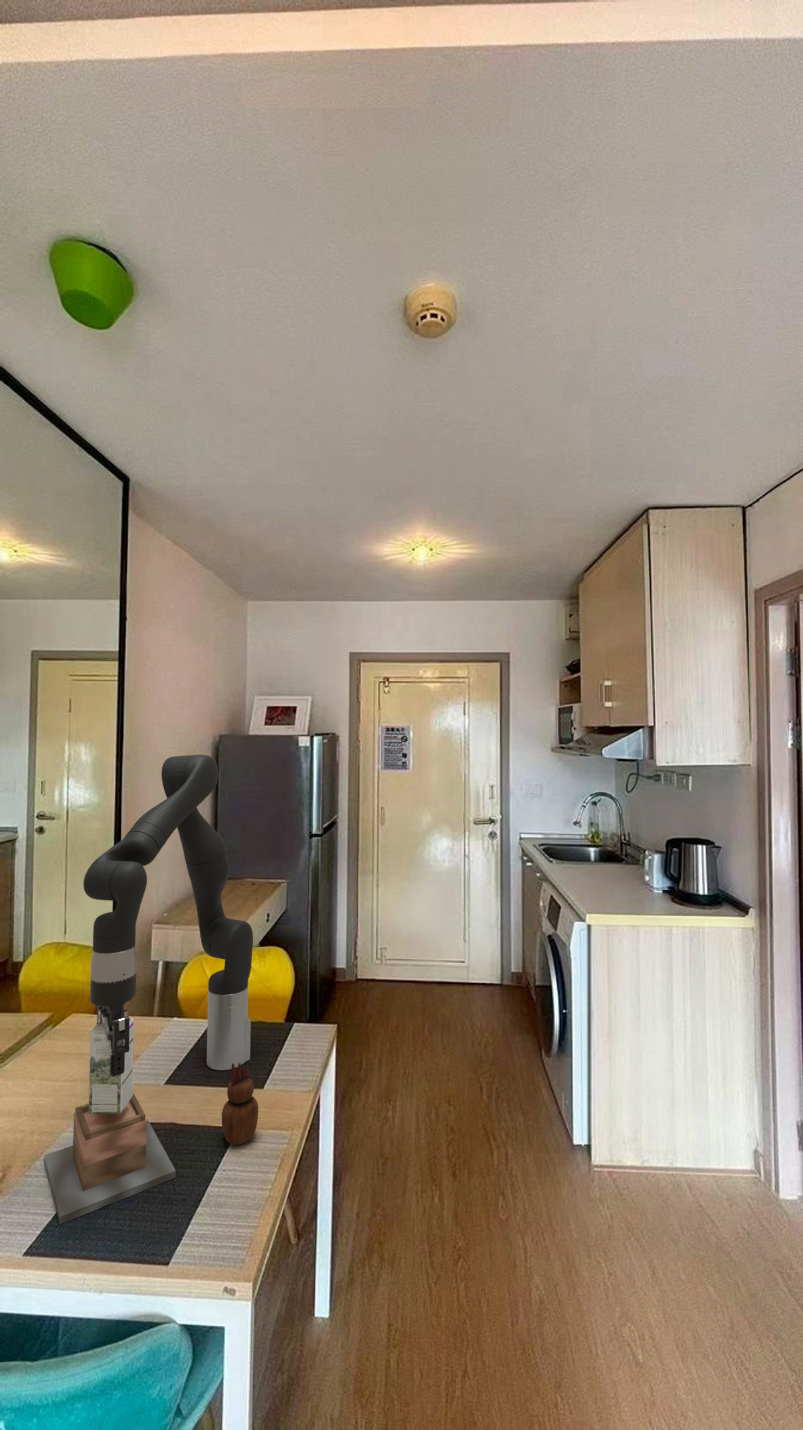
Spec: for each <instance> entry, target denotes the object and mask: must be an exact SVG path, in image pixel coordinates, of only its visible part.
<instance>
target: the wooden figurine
mask: <svg viewBox="0 0 803 1430" xmlns="http://www.w3.org/2000/svg"><path fill="white" fill-rule="evenodd" d="M245 1067H246V1066H245V1065H244V1066H242V1065H241V1064H240V1063H239V1064H238V1067H237V1069H236V1068H235V1066H234V1064H233V1063H232V1069H231V1077H230V1082H229V1083H228V1085H227V1090H226V1095H227V1099H228V1100H227V1101H226V1102H225V1104H223V1107H222V1111H221V1125H222V1132H223V1135H224V1138H225V1140H226V1142H227V1143H228V1144H229V1145H234V1146H239V1145H243V1144H246V1143H247V1142H249V1141H250V1140H251V1139H252V1138H253V1137H254V1134H255V1133H256V1129H257V1126H258V1119H259V1104H258V1101H257V1099H256V1098H255V1096H254V1095H253V1094H254V1090H255V1085H254V1081H253V1080H252V1079H251V1078H250V1072H249V1069H248V1068H246V1069H245ZM236 1070H237V1071H236Z"/></svg>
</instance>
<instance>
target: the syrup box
mask: <svg viewBox="0 0 803 1430" xmlns="http://www.w3.org/2000/svg"><path fill="white" fill-rule="evenodd" d="M129 1018H130V1021H129V1048H130V1049H129V1052H126V1053H125V1067H124V1073H123V1074H120V1075H117V1076H111V1074H110V1046H109V1042H106V1039H105V1029H104V1026H103V1024H102V1022H99V1023H98V1024H97V1023H96V1025H94V1027H93V1028H92V1029H91V1031H89V1032H90V1034H89V1074H88V1075H89V1078H88V1080H89V1083H88V1084H89V1087H88V1090H89V1091H88V1104H89V1114H113V1113H121V1112H122V1111H123V1109H124V1108H125V1106H126V1105H127V1104H128V1102H129V1101H130V1099H131V1098H132V1096H133V1093H134V1080H133V1079H134V1043H135V1042H134V1041H135V1038H134V1036H135V1019H134V1017H129ZM109 1032H110V1034H111V1035H113V1031H109ZM120 1045H122V1040H120V1041H118V1042H117V1046H120Z"/></svg>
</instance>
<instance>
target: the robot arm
mask: <svg viewBox="0 0 803 1430" xmlns="http://www.w3.org/2000/svg"><path fill="white" fill-rule="evenodd" d="M160 772H161V773H160V774H161V782H162V787H163V790H164V795H165V797H166V799H165V800H162V801H161V802H160V803H158V804H156V805H155V806H153V807H152V808H151V809H149V810H147V811H146V812H145V813H143V814H142V815H141V816H140V817H139V818H138V819H137V820H136V821H135V823H134V824H133V825H132V827H131V828H130V829H129V831H128V832H127V833H126V834H125V836H124V837H123V838H122V839H121V840H120V841H118V842H117V843H115V844H114V845H112V846H111V847H110V848H108V850H106V851H105V852H103V854H101V855H99V857H97V858H96V859H95V860H94V861H93V862H92V863H91V864H90V866H89V867H88V869H87V870H86V872H85V874H84V877H83V884H82V885H83V890H84V893H85V894H86V895H87V896H88V898H91V899H92V900H96V901H97V900H98V901H110V902H116V908H115V910H114V911H107V912H105V913H104V912H103V914H100V915H98V916H97V917H96V918H95V920H94V922H93V929H92V931H93V932H92V953H91V961H90V980H89V981H90V983H89V986H90V988H89V990H90V991H89V992H90V993H89V1001H90V1003H91V1004H92V1005H93V1006H96V1007H97V1013H96V1015H97V1016H96V1025H97V1024H98V1023H99V1022H102V1024H103V1026H104V1029H105V1039H106V1042H109V1046H110V1074H111V1076H117V1075H120V1074H123V1073H124V1067H125V1053H126V1052H129V1049H130V1048H129V1021H130V1018H131V1017H130V1016H129V1015H128V1011H127V1009H125V1008H124V1006H125V1004H126V1003H128V1002H129V1001H131V1000H132V999H134V998H135V996H136V993H137V961H138V960H137V958H138V957H137V950H136V932H137V931H136V930H137V927H136V926H137V920H138V916H139V913H140V909H141V904H142V901H143V898H144V896H145V893H146V889H147V885H148V875H147V872H146V869H145V868H144V866H145V867H146V866H148V865H149V864H151V863H152V862H153V861H154V860H155V859H156V857H157V856H158V855H159V853H160V851H161V850H162V848H163V847H164V846H165V845H166V843H167V841H168V840H169V839H170V837H171V836H172V834H173V833H174V831H176V830H177V832H178V836H179V839H180V842H181V843H180V844H181V847H182V851H183V857H184V860H185V865H186V869H187V874H188V876H189V879H190V880H189V881H190V885H191V888H192V892H193V897H194V902H195V906H196V907H195V908H196V911H197V912H196V913H197V921H198V929H199V936H200V942H201V947H202V949H203V951H204V953H205V954H206V955H207V956H209V957H211V958H215V959H219V960H220V959H221V960H224V966H223V967H224V968H223V969H221V970H218V971H216V972H213V973H212V974H211V975H210V976H209V978H208V980H207V981H208V983H207V985H208V987H207V1026H206V1027H207V1034H206V1037H207V1039H206V1065H207V1067H208V1068H209V1069H213V1070H215V1071H228V1070H232V1063H233V1064H234V1066H235V1069H237V1068H238V1064H239V1063H240V1064H241V1066H242V1065H243V1064H244V1063H246V1062H247V1061H250V1060H251V1026H252V1025H251V1024H252V1023H251V1021H252V1020H251V1019H250V1017H249V1016H248V1007H249V1006H248V1003H249V1002H248V1001H249V998H248V997H249V996H248V995H249V979H250V975H251V971H252V962H253V961H252V959H253V948H254V947H253V946H254V933H253V932H254V931H253V928H252V926H251V924H250V923H249V922H247V921H245V920H239V919H234V918H228V917H226V914H225V911H224V908H223V904H222V895H223V894H222V893H223V890H224V889H225V886H226V883H227V880H228V878H229V875H230V863H229V862H230V861H229V858H228V853H227V849H226V845H225V842H224V840H223V838H222V837H221V835H220V834H219V833H218V832H217V830H216V829H215V828H214V827H213V826H212V825H211V824H210V823H209V822H208V821H207V820H206V819H205V818H204V816H203V815H202V814H201V812H200V811H199V809H198V806H199V805H200V804H201V803H203V802H204V801H205V800H206V799H207V798H208V797H209V796H210V794H211V793H213V791H214V789H215V788H216V786H217V784H218V780H219V767H218V765H217V762H216V760H215V759H214V757H212V756H209V755H207V754H191V755H190V754H189V755H174V756H170V757H168V758H167V759H165V760H164V762H163V763H162V766H161V771H160ZM109 1031H113V1035H111V1034H110V1032H109ZM120 1040H122V1045H120V1046H117V1042H118V1041H120Z"/></svg>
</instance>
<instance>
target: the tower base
mask: <svg viewBox="0 0 803 1430" xmlns="http://www.w3.org/2000/svg"><path fill="white" fill-rule="evenodd" d="M72 1130H73V1136H72V1145H70V1146H67V1147H64V1148H62V1149H61V1148H60V1149H59V1150H56V1151H53V1152H50V1153H46V1154H44V1155H43V1163H44V1166H45V1167H44V1168H45V1172H46V1176H47V1179H48V1184H49V1188H50V1192H51V1196H52V1199H53V1204H54V1208H55V1211H56V1216H57V1219H58V1223H59V1225H62V1224H65V1223H68V1222H69V1221H72V1220H75V1219H77V1218H80V1217H82V1216H84V1215H87V1214H89V1213H92V1212H94V1211H97V1210H98V1209H102V1208H105V1207H106V1206H109V1205H112V1204H114V1203H117V1202H119V1201H122V1200H124V1199H126V1198H128V1197H132V1196H133V1195H136V1194H138V1193H142V1192H144V1191H146V1190H149V1189H151V1188H153V1187H156V1186H159V1185H161V1184H163V1183H166V1182H169V1181H170V1180H173V1179H175V1178H176V1173H177V1172H176V1168H175V1166H174V1165H173V1163H172V1161H171V1160H170V1157H169V1156H168V1154H167V1152H166V1150H165V1148H164V1147H163V1145H162V1143H161V1141H160V1139H159V1137H158V1136H157V1134H156V1132H155V1130H154V1129H153V1127H152V1125H151V1123H150V1121H149V1119H146V1113H145V1111H144V1110H143V1107H142V1106H141V1105H140V1102H139V1100H138V1098H137V1097H136V1095H135V1092H133V1096H132V1098H131V1099H130V1101H129V1102H128V1104H127V1105H126V1106H125V1108H124V1109H123V1111H122V1112H121V1113H113V1114H89V1103H86V1104H83V1105H79V1106H76V1107H75V1111H74V1112H73V1129H72Z"/></svg>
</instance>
